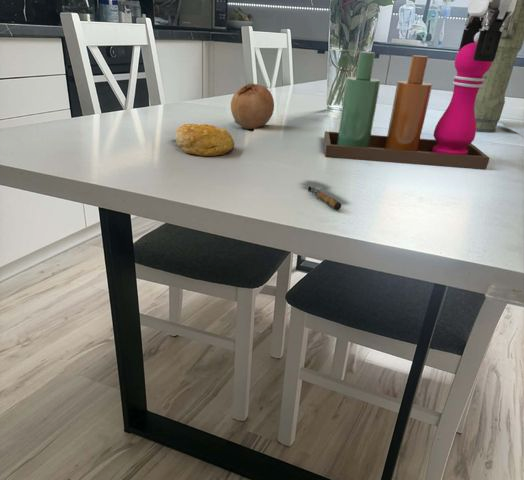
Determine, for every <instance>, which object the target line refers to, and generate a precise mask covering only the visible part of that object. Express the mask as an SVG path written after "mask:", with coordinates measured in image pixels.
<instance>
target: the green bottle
mask: <svg viewBox="0 0 524 480" xmlns="http://www.w3.org/2000/svg"><path fill="white" fill-rule="evenodd" d="M375 57H376V53H375V52H373V51H359V55H358V62H357V68H356V74H355V76H346V78H345V82H344V83H345V84H344V92H343V98H342V107H341V113H340V121H339V127H338V128H339V129H338V132H339V134H338V142H337V145H343V146H356V147H369V145H370V139H371V135H372V133H373V127H374V121H375V115H376V110H377V104H378V98H379V92H380V87H381V80H380V79H378V78H372V76H373V75H372V74H373V68H374V62H375Z"/></svg>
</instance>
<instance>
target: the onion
mask: <svg viewBox="0 0 524 480" xmlns="http://www.w3.org/2000/svg"><path fill="white" fill-rule="evenodd" d="M274 110H275V100H274V97H273V94H272V92H271V91H270V90H269V89H268V87H266V86H265V85H262V84H259V83H253V82H249V83H247V84H245V85H243V86H241V87H240V88H238V89H237V90H235V92H234V94H233V95H232V97H231V100H230V111H231V115H232V118H233V120H234V123H235V124H236V125H238V126H240V127H241V128H243V129H247V130H255V129H258V128H262V127H264V126H266V125H267V124H268V123H269V122H270V120H271V118H272V117H273V114H274Z"/></svg>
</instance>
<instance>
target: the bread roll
mask: <svg viewBox="0 0 524 480" xmlns="http://www.w3.org/2000/svg"><path fill="white" fill-rule="evenodd" d="M174 140H175V141H176V143H177V145H178V146H179V147H180V149H181V150H182V151H184V153H185V154H190V155H195V156H201V157H202V156H203V157H211V156H212V157H213V156H222V155H225V154H227V153H229V152H230V151H232V149H234V148H235V140H234V138H233V137H232V134H231V133H230V132H229V131H228V130H227V129H224V128H223V129H222V128H220V127H217V126H215V125H212V124H207V123H203V124H198V123H197V124H196V123H184V124H182V125H180V126H179V127H178V128H177V129H176V130H175V135H174Z"/></svg>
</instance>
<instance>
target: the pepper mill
mask: <svg viewBox="0 0 524 480" xmlns="http://www.w3.org/2000/svg"><path fill="white" fill-rule="evenodd" d="M479 34H480V32H478V33H476V35H475V36H474V42H475V43H470V44H467V45H465V46H464V47H462V48H461V49H460V51H459V50H458V52H457V54H456V56H455V59H454V68H455V70H456V75H454V76H453V81H452V85H454V86H453V91H452V95H451V99H450V102H449V104H448V106H447V108H446V109H445V111H444V113H443V114H442V115H441V117H440V118H439V120H438V122H437V123H436V124H435V127H434V131H433V138H434V140H436V142H437V145H436V146H434V147H433V150H432V152H433V153H446V154H459V155H467V153H468V151H467V150H466V149H465V148H466V147H467V146H468V145H469V144H470V143H473V142H474V141H475V138H476V133H477V131H476V120H475V112H474V107H475V100H476V96H477V93H478V91H479V88H480V87H482V86H483V84H482V83H483V81H484V78H483V75H484V74H485V73H486V72H487V71H488V70H489V69H490V67H491V65H492V62H493V61H492V62H487V61H475V60H474V59H473V57H474V53H475V49H476V46H477V42H478V38H479Z"/></svg>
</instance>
